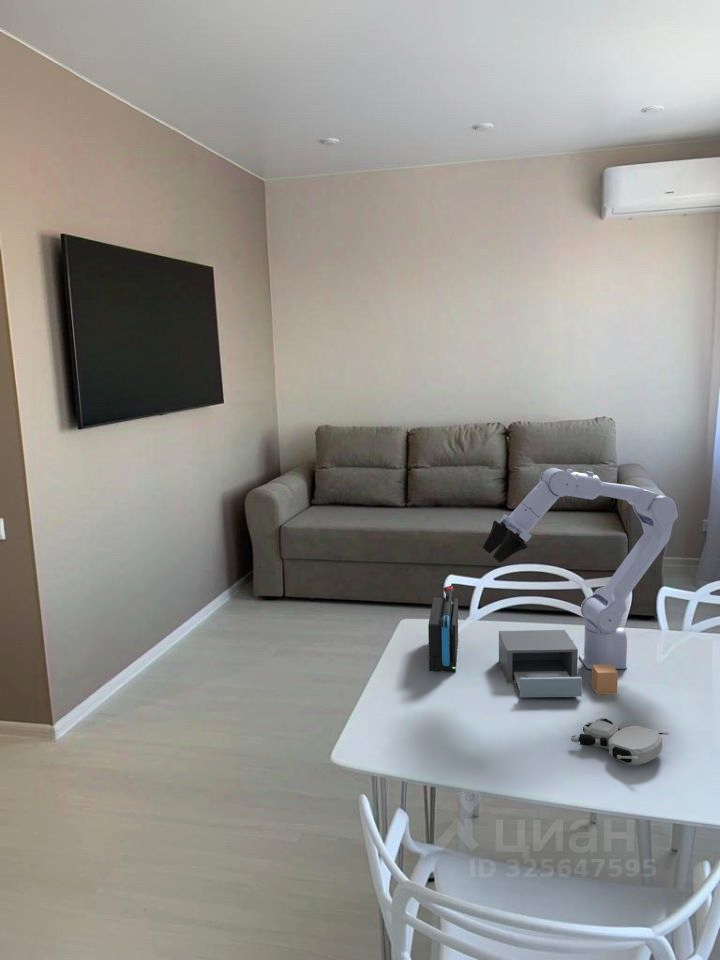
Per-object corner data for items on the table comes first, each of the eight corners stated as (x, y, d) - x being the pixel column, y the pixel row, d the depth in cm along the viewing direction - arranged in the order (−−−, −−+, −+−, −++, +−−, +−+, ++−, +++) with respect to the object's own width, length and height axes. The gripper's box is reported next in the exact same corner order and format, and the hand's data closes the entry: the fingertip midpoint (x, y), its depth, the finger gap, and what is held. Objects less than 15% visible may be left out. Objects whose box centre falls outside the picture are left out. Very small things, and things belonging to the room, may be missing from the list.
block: (611, 684, 168) (611, 664, 167) (617, 693, 163) (617, 672, 162) (591, 685, 168) (592, 664, 167) (597, 693, 163) (597, 672, 162)
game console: (455, 680, 172) (454, 620, 170) (427, 679, 173) (426, 620, 171) (458, 635, 199) (458, 583, 197) (435, 634, 200) (434, 583, 198)
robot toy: (566, 753, 141) (641, 779, 130) (565, 731, 141) (640, 755, 130) (600, 730, 150) (673, 753, 138) (599, 709, 149) (672, 730, 138)
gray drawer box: (564, 660, 181) (564, 629, 180) (577, 681, 170) (577, 649, 168) (498, 661, 182) (498, 631, 181) (507, 682, 170) (507, 650, 169)
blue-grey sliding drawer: (568, 673, 172) (568, 656, 171) (581, 696, 160) (582, 678, 160) (511, 674, 172) (511, 657, 171) (520, 697, 161) (520, 679, 160)
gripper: (507, 493, 177) (469, 536, 177) (530, 507, 162) (489, 553, 163) (527, 512, 178) (490, 554, 179) (551, 526, 164) (511, 572, 165)
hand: (491, 555), depth 171 cm, fingers open, 7 cm apart
